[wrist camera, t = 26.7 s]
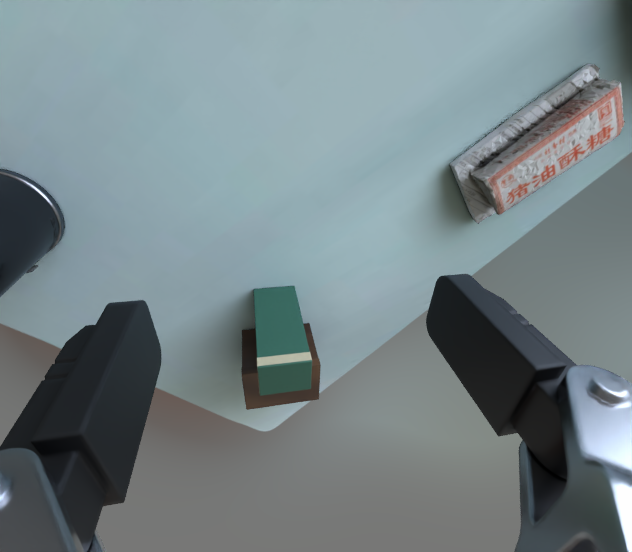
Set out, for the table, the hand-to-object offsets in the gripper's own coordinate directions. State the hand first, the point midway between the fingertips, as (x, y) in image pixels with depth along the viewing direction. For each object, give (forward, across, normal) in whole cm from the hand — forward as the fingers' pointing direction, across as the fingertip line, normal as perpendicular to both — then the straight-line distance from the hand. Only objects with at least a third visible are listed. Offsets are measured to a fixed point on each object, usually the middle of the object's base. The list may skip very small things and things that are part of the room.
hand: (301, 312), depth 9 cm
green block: (+23, -1, +22) cm, 32 cm away
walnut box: (+30, -1, +30) cm, 43 cm away
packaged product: (+30, -32, +2) cm, 44 cm away
